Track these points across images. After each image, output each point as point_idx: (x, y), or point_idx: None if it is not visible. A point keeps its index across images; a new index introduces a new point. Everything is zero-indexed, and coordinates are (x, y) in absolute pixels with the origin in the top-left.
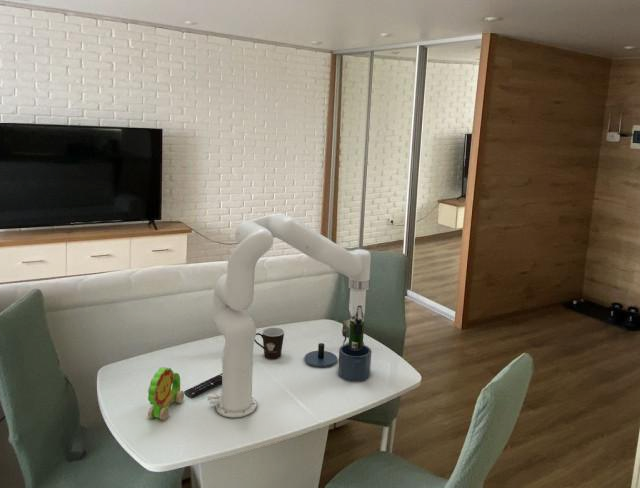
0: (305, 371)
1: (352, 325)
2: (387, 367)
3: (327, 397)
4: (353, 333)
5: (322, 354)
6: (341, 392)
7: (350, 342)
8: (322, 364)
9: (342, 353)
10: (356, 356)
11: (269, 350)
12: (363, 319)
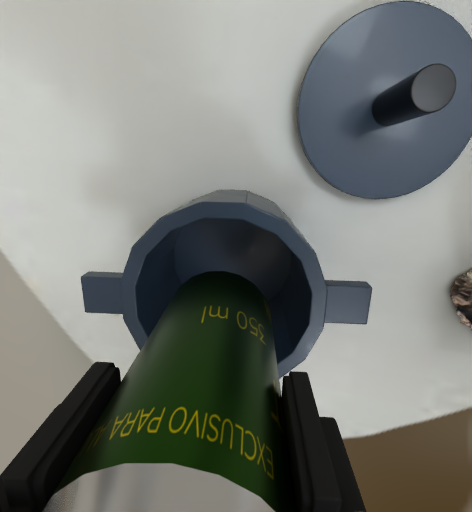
0: (267, 14)
1: (100, 424)
2: (281, 391)
3: (29, 118)
4: (92, 367)
5: (383, 111)
6: (77, 185)
7: (181, 295)
8: (307, 112)
9: (167, 215)
10: (128, 298)
11: None
12: None
